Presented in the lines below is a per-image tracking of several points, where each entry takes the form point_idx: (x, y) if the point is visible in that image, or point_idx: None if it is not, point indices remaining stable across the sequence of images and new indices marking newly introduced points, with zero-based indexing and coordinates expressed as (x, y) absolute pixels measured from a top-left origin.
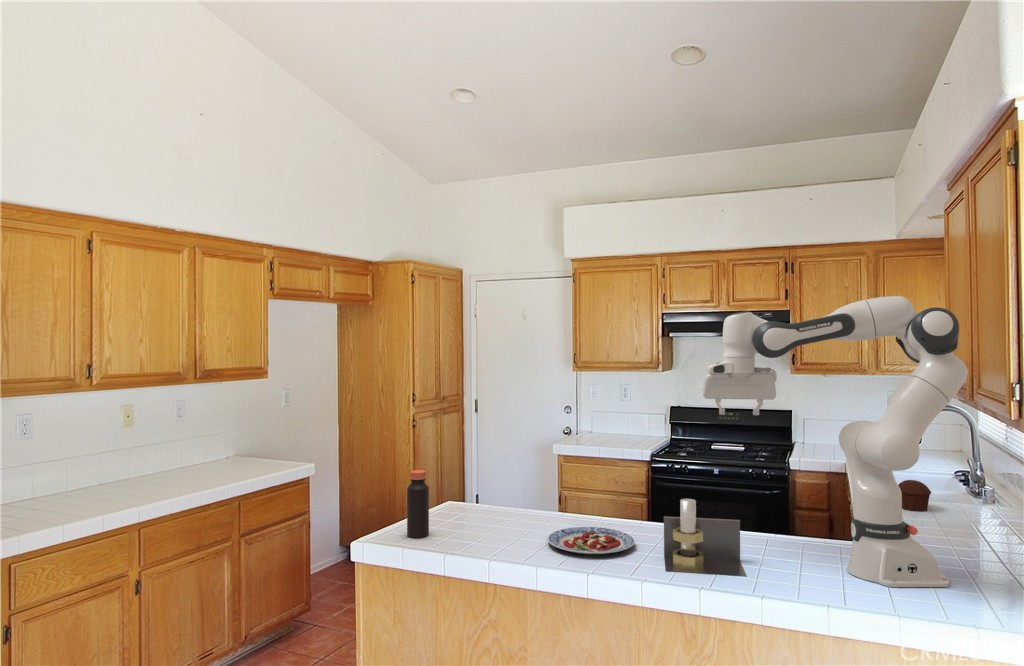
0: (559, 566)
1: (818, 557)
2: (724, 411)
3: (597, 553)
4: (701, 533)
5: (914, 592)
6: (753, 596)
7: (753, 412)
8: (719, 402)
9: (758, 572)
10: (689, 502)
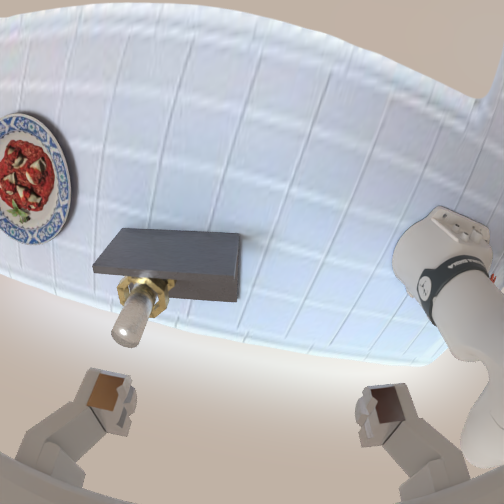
0: (23, 268)
1: (385, 184)
2: (128, 417)
3: (41, 243)
4: (163, 307)
5: None
6: (235, 336)
7: (367, 409)
8: (75, 469)
9: (261, 264)
10: (129, 347)
